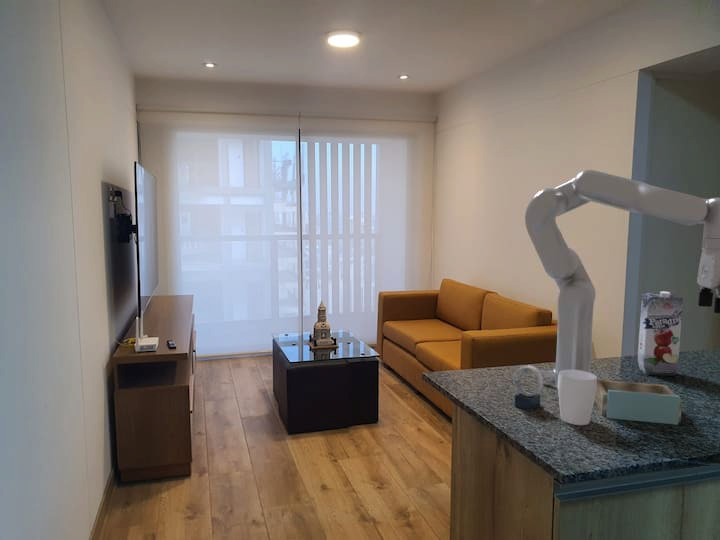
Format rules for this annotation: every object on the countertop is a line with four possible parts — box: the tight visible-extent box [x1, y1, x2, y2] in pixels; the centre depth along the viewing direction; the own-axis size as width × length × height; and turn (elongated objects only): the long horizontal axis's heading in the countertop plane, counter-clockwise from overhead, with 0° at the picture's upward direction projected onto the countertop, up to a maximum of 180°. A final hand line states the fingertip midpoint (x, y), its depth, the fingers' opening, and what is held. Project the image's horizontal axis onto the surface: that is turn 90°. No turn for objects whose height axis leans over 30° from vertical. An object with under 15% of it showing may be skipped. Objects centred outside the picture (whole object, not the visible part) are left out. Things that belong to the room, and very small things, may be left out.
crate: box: [594, 379, 683, 424], centre depth 139 cm, size 18×12×6 cm
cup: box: [557, 370, 598, 426], centre depth 132 cm, size 9×9×12 cm
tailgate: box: [605, 390, 681, 426], centre depth 132 cm, size 16×1×7 cm, turn 76°
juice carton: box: [637, 290, 683, 377], centre depth 172 cm, size 9×10×27 cm
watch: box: [512, 364, 545, 412], centre depth 142 cm, size 6×8×11 cm
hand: (712, 309), depth 141 cm, fingers open, 9 cm apart
